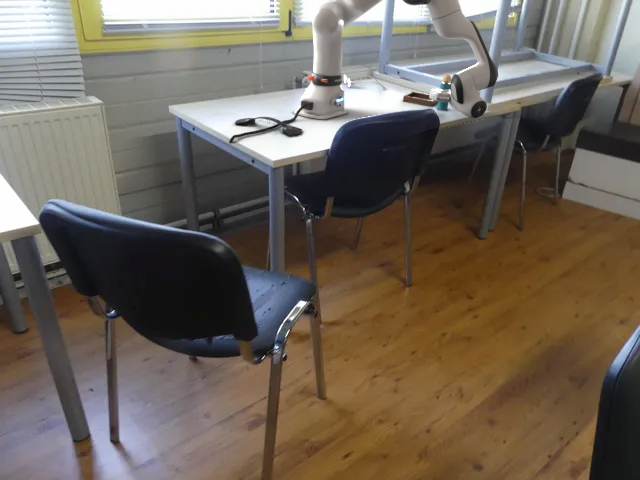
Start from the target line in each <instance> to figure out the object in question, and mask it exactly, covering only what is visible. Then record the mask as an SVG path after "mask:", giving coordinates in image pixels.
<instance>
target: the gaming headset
mask: <svg viewBox="0 0 640 480" xmlns="http://www.w3.org/2000/svg"><path fill="white" fill-rule="evenodd" d="M262 120H263V121H262ZM265 120H267V121H265ZM256 121H257V122H259V123H261V122H262V123H264V124H265V123H266V124H267V125H270V124H271V125H272V126H274V125H276V124H279V125H280V127H282V135H284V136H288V137H298V136H300V135H302V132H303V129H302V128H300V127H297V126H293V125H290V124H287V123H283V122H282V120H279V119H276V118H274V117H269V116H257V117H245V118H239V119H236V120H235V121H234V124H235V125H236V126H243V127H244V126H245V127H247V126H251V125H253V124H255V123H256ZM271 122H272V123H271ZM277 126H278V125H277ZM278 127H279V126H278Z"/></svg>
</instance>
